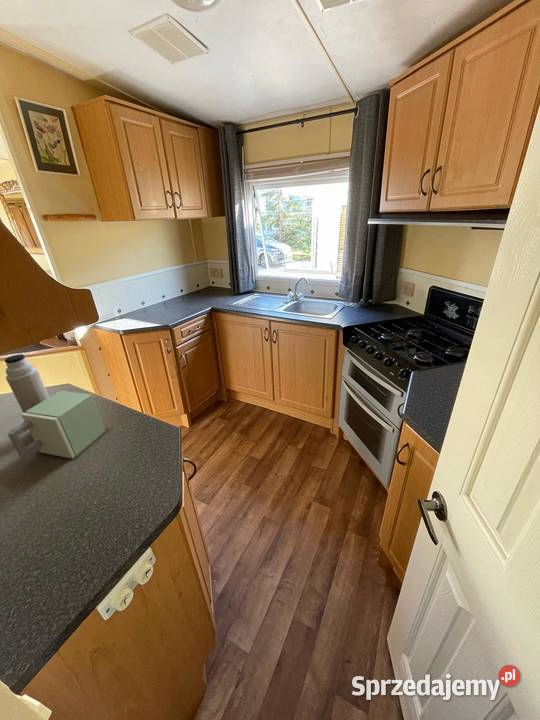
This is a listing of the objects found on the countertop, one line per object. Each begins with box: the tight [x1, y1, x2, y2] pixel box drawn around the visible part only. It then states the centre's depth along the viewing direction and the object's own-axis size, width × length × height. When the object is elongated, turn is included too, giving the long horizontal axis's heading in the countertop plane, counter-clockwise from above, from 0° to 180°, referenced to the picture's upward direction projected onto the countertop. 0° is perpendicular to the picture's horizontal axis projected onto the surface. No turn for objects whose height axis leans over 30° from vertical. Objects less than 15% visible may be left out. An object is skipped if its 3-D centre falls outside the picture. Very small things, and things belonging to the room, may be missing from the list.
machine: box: [25, 390, 106, 457], centre depth 92 cm, size 12×13×15 cm
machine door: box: [6, 412, 76, 460], centre depth 84 cm, size 7×13×14 cm, turn 75°
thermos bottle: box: [4, 353, 50, 414], centre depth 96 cm, size 8×8×28 cm
